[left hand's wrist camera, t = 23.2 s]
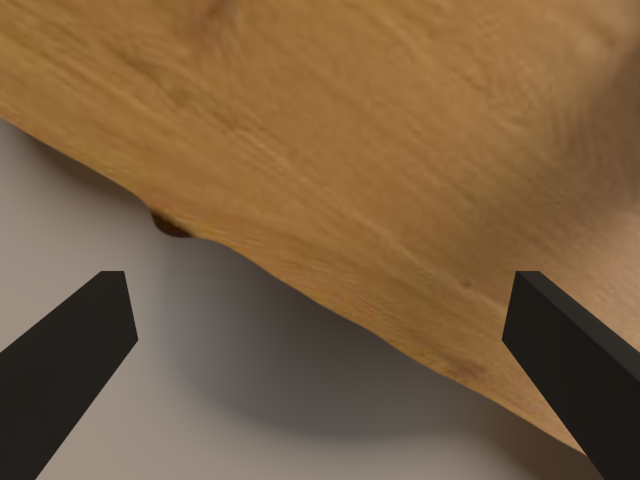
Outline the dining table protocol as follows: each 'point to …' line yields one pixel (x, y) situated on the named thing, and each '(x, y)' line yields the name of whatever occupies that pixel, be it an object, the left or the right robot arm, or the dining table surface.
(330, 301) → the dining table surface
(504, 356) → the dining table surface
